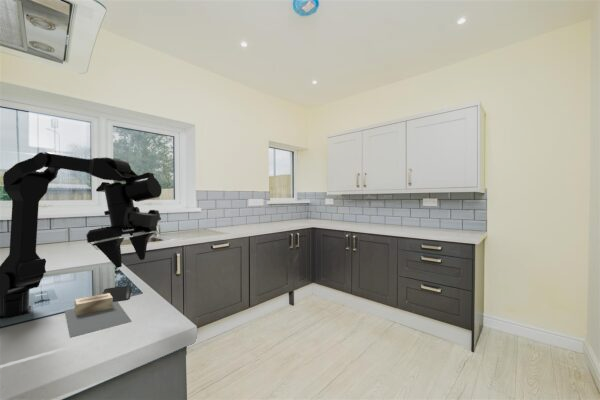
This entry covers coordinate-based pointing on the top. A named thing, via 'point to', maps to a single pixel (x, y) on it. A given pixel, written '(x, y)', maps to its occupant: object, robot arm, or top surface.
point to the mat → (95, 320)
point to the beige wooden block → (93, 304)
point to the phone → (119, 293)
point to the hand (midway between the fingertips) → (131, 263)
